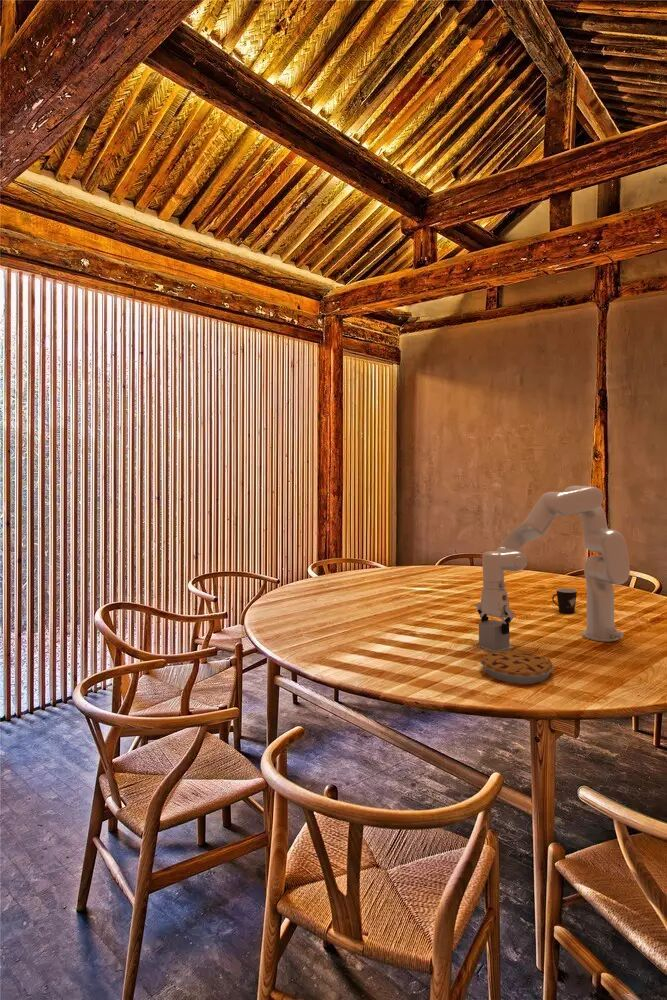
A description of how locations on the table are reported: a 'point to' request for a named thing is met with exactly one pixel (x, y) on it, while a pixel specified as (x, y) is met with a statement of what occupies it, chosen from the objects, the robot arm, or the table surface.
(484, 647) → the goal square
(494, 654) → the pie
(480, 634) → the grey block
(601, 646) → the table surface
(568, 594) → the coffee mug
